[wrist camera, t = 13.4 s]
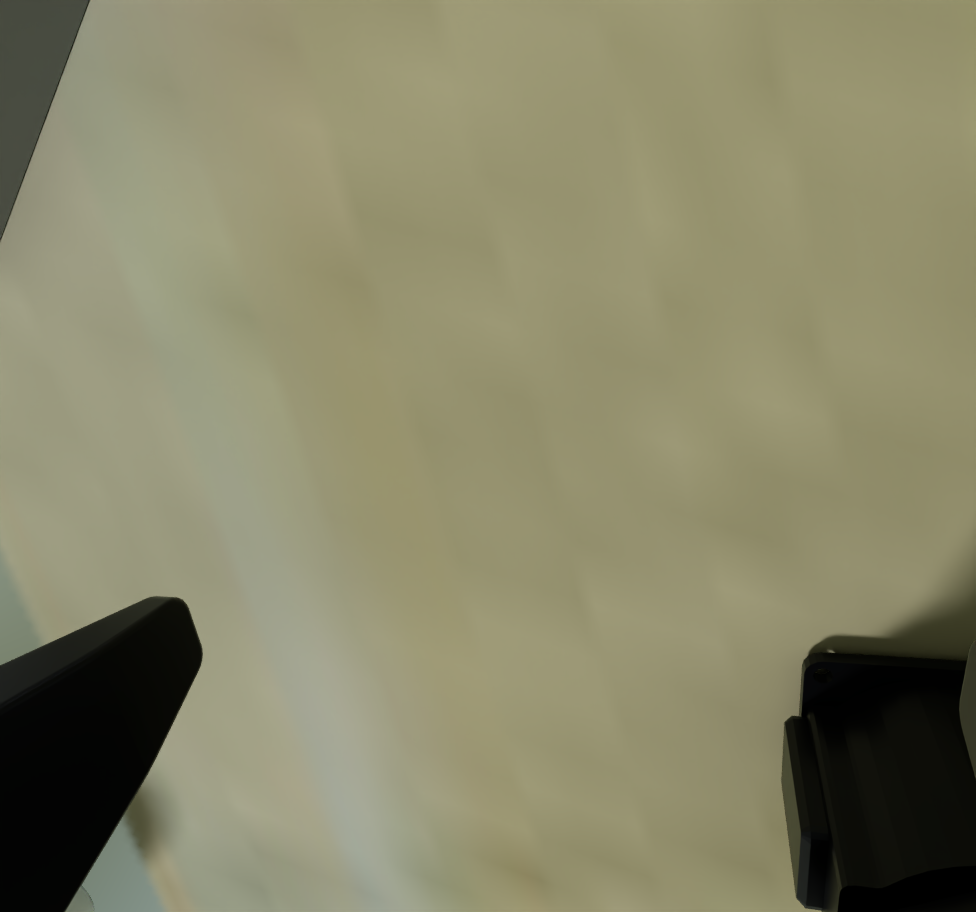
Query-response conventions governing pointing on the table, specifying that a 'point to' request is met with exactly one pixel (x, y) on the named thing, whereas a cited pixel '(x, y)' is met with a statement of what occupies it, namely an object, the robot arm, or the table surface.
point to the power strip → (29, 79)
